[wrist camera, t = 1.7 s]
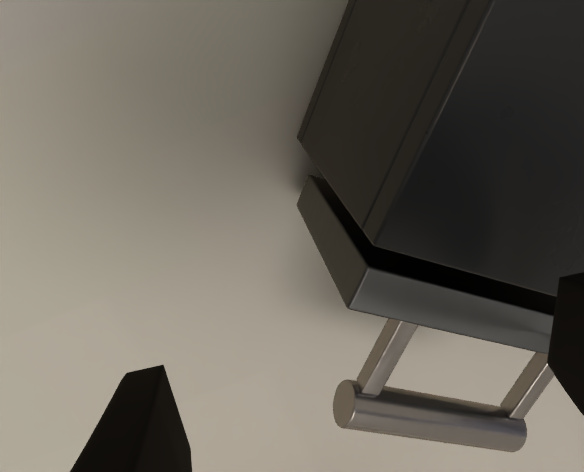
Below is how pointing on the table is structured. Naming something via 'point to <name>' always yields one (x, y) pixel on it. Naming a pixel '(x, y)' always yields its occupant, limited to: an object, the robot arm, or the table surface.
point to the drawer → (430, 313)
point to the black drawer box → (459, 132)
